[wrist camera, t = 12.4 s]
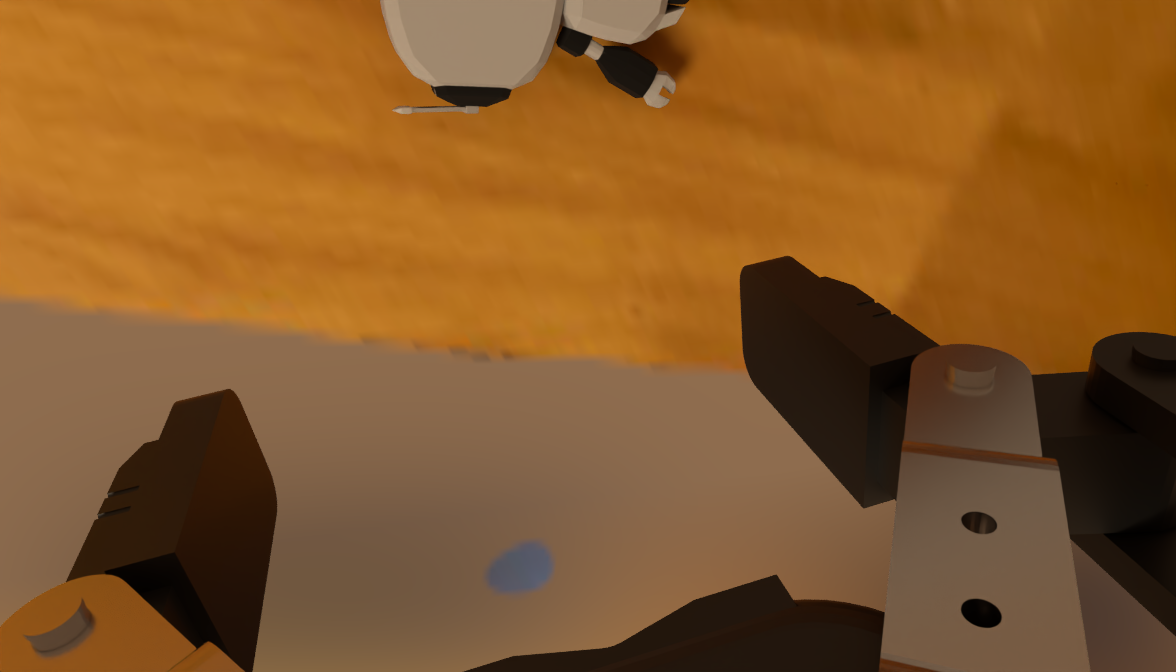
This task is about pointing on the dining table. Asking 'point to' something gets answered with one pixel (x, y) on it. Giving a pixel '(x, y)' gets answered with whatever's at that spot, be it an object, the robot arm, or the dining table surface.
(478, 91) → the robot toy
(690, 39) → the dining table surface
